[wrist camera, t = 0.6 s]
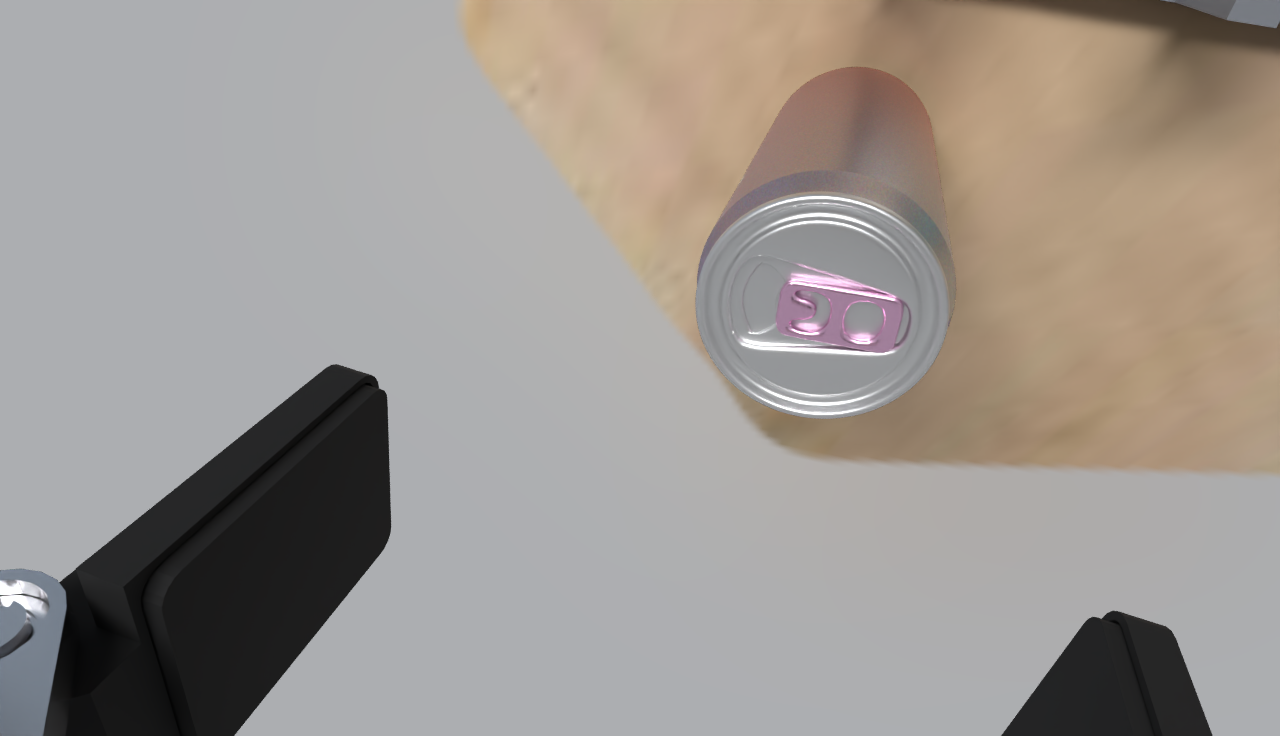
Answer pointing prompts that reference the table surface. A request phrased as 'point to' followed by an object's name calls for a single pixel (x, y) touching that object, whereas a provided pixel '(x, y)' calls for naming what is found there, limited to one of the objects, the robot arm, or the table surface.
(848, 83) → the beverage can
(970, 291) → the table surface
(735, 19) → the table surface
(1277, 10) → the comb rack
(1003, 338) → the table surface
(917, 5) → the table surface
